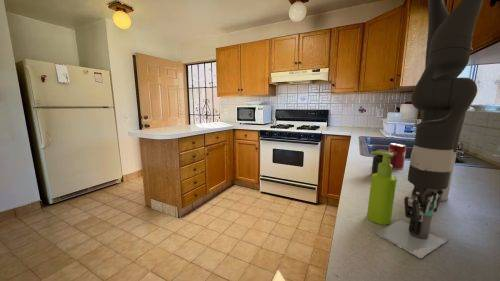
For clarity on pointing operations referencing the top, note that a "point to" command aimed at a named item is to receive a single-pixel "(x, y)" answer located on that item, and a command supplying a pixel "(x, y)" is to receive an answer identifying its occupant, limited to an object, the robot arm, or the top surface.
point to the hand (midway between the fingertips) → (418, 230)
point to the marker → (424, 225)
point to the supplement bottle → (377, 161)
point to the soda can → (397, 155)
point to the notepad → (409, 236)
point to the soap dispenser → (382, 191)
